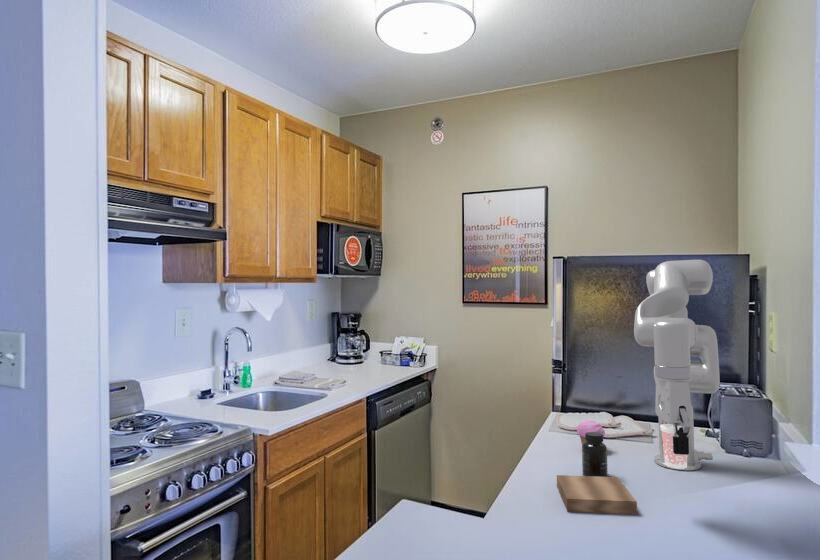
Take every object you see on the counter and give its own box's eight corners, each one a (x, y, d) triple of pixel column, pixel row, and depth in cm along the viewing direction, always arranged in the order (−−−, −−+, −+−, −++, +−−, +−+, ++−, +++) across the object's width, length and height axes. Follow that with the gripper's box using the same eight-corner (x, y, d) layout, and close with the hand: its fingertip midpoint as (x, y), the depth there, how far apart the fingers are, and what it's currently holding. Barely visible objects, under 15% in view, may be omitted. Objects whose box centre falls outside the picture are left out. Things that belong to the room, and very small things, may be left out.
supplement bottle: (610, 481, 138) (608, 437, 138) (584, 479, 139) (583, 436, 140) (605, 472, 145) (604, 431, 145) (580, 471, 146) (579, 430, 146)
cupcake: (609, 454, 161) (608, 423, 161) (582, 455, 161) (581, 424, 161) (599, 446, 169) (598, 417, 170) (573, 447, 170) (573, 417, 170)
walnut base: (618, 488, 132) (618, 477, 133) (637, 514, 117) (636, 501, 117) (556, 486, 135) (556, 475, 135) (567, 511, 119) (566, 498, 119)
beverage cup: (662, 468, 115) (660, 407, 115) (660, 459, 120) (658, 402, 121) (692, 471, 112) (690, 409, 113) (688, 462, 118) (686, 403, 118)
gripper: (643, 366, 126) (646, 437, 126) (669, 379, 109) (672, 461, 108) (675, 366, 125) (677, 438, 124) (706, 379, 108) (709, 462, 107)
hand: (675, 448), depth 116 cm, fingers closed on beverage cup, 6 cm apart
